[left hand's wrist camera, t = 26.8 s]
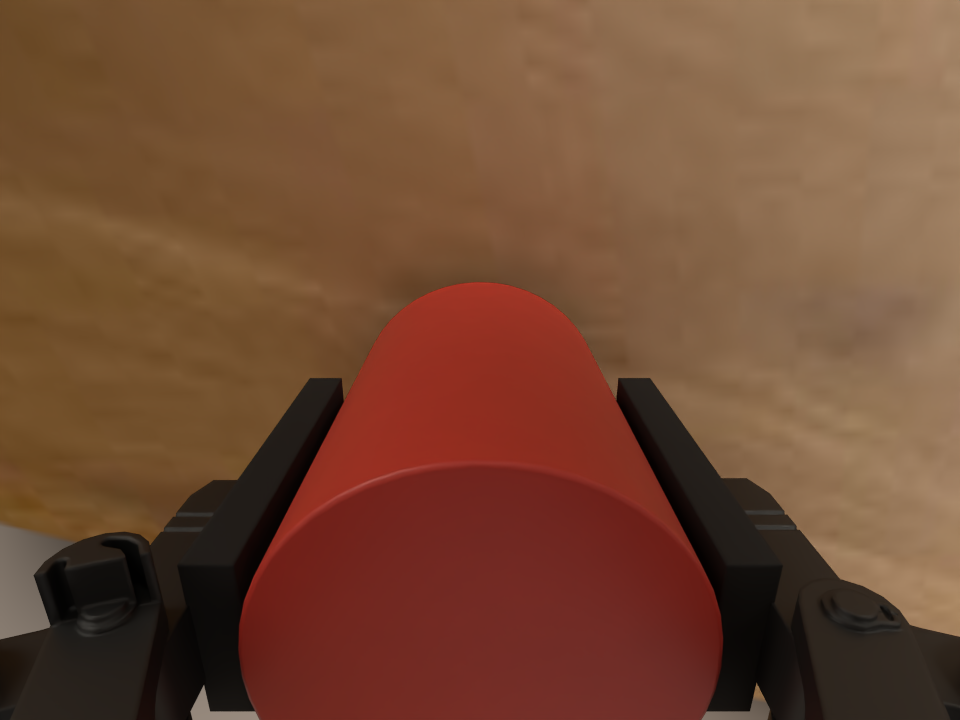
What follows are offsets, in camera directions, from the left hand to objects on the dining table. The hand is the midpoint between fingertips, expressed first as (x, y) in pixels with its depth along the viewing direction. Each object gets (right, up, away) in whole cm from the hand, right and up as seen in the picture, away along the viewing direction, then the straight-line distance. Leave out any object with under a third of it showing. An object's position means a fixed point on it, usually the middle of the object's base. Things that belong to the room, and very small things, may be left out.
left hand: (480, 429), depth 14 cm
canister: (0, +1, +2) cm, 2 cm away
